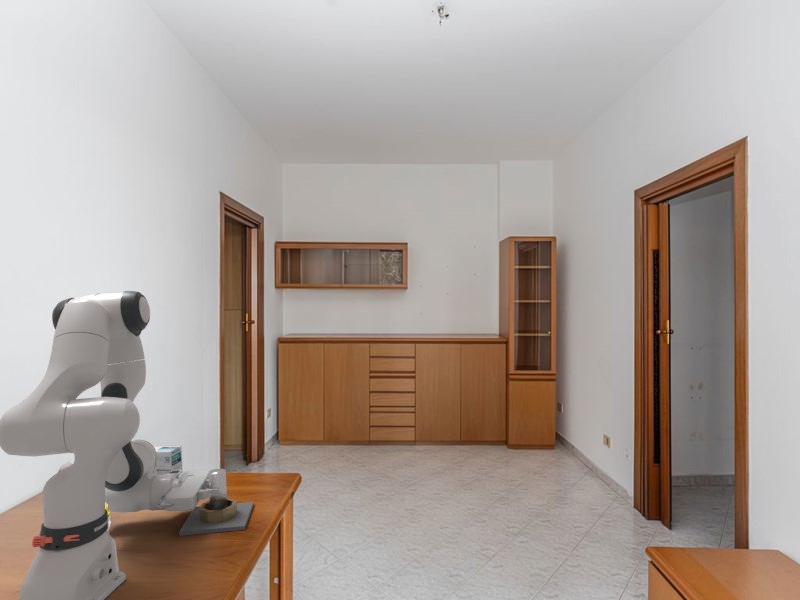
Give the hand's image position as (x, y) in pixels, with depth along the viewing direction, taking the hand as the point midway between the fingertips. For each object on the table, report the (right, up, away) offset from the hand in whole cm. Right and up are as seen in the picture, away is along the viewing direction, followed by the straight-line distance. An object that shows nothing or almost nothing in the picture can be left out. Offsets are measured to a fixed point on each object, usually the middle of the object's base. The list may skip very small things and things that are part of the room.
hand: (221, 487), depth 142 cm
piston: (-1, -6, 0) cm, 6 cm away
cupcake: (-55, -10, +23) cm, 60 cm away
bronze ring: (-1, -8, 0) cm, 8 cm away
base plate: (-1, -9, 0) cm, 9 cm away
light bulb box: (-30, -9, +32) cm, 45 cm away
